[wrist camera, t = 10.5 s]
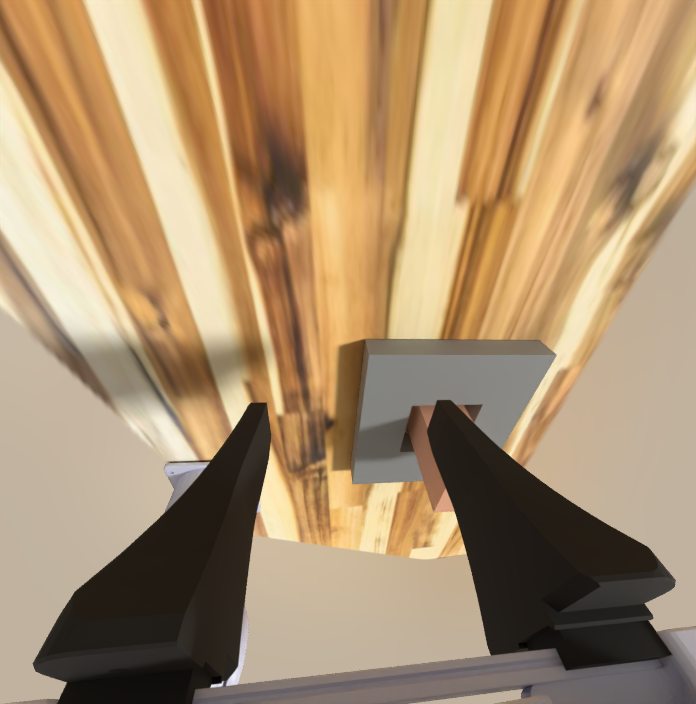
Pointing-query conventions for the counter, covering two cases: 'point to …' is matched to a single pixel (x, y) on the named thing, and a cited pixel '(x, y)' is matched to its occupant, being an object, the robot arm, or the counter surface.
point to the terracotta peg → (428, 456)
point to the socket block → (438, 395)
